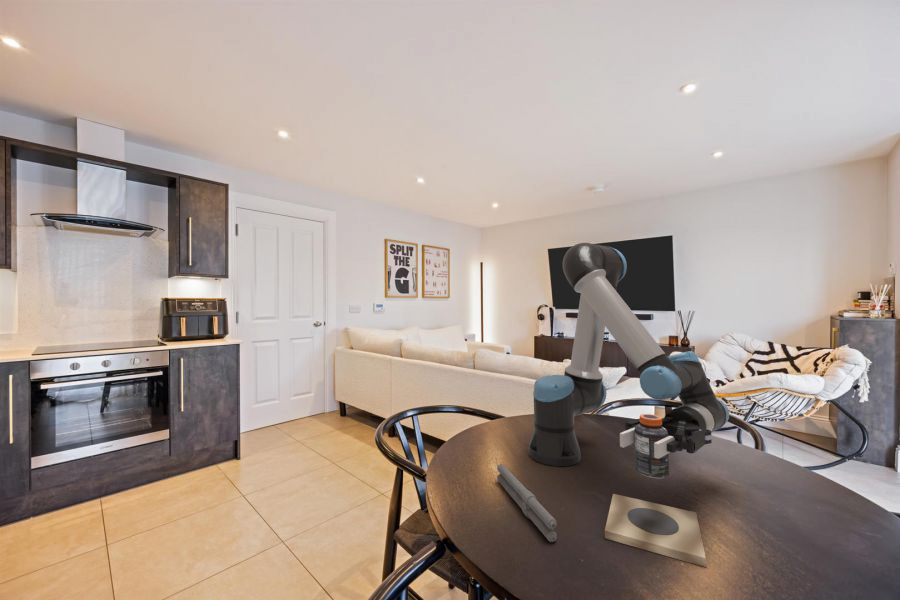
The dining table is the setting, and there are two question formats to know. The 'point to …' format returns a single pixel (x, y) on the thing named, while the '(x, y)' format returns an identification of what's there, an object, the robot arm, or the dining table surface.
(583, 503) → the dining table surface
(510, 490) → the metal rod assembly
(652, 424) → the pill bottle
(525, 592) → the dining table surface
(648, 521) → the stand
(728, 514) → the dining table surface
